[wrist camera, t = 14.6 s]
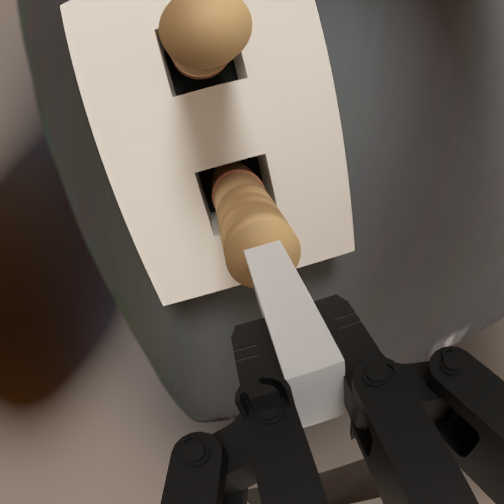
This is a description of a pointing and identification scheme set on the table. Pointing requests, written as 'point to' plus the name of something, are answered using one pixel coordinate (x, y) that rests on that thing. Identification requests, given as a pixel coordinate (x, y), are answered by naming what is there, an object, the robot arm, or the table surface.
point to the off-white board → (212, 134)
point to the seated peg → (204, 34)
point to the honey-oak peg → (247, 218)
